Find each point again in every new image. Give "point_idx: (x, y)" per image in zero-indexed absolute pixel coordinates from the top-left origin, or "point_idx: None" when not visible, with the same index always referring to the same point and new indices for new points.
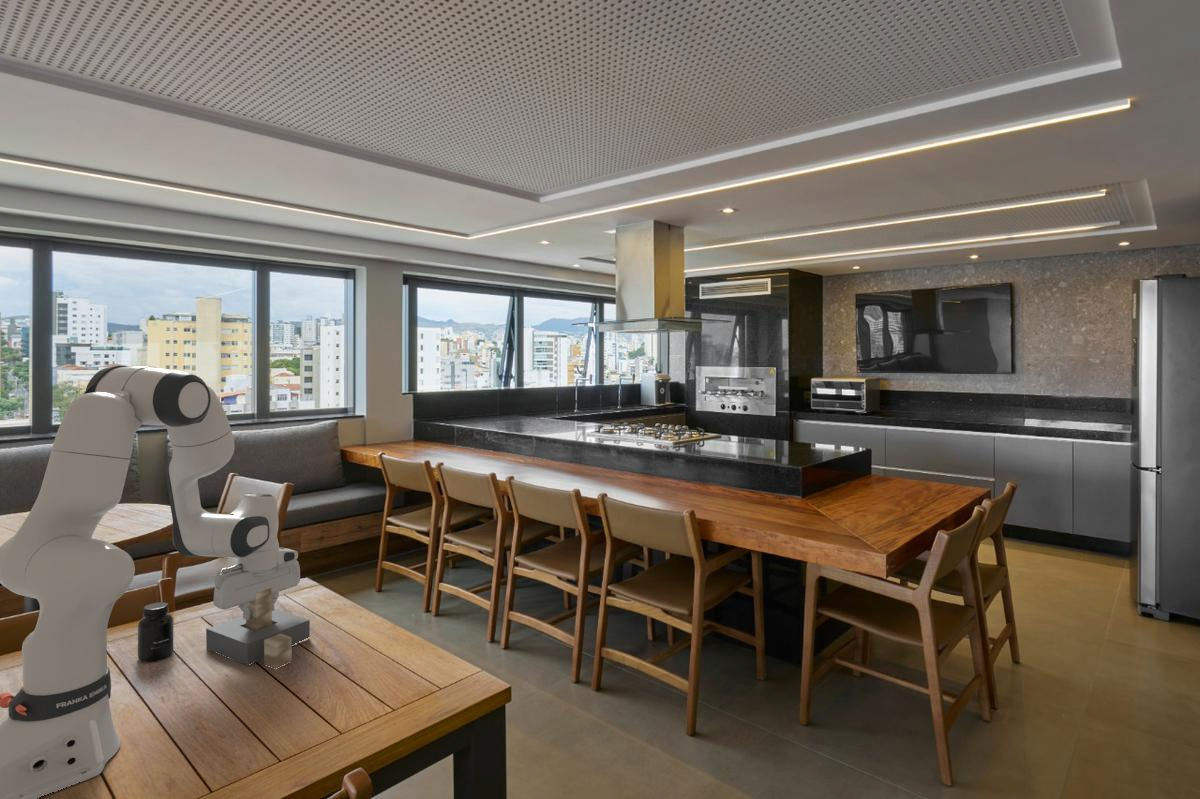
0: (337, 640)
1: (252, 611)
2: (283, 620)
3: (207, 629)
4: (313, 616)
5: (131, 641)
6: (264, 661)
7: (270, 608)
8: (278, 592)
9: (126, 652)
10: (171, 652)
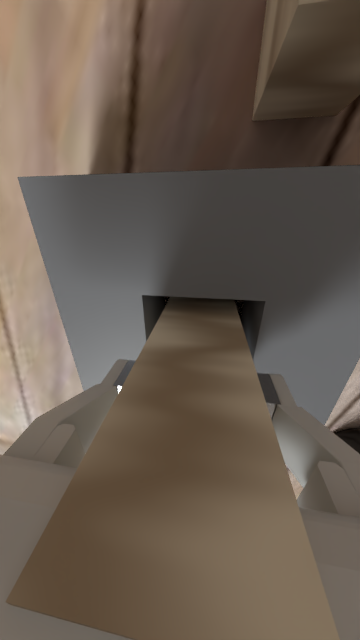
0: (4, 57)
1: None
2: (115, 293)
3: None
4: (19, 333)
5: None
6: (349, 102)
7: (146, 359)
8: (10, 449)
9: None
10: (350, 436)
